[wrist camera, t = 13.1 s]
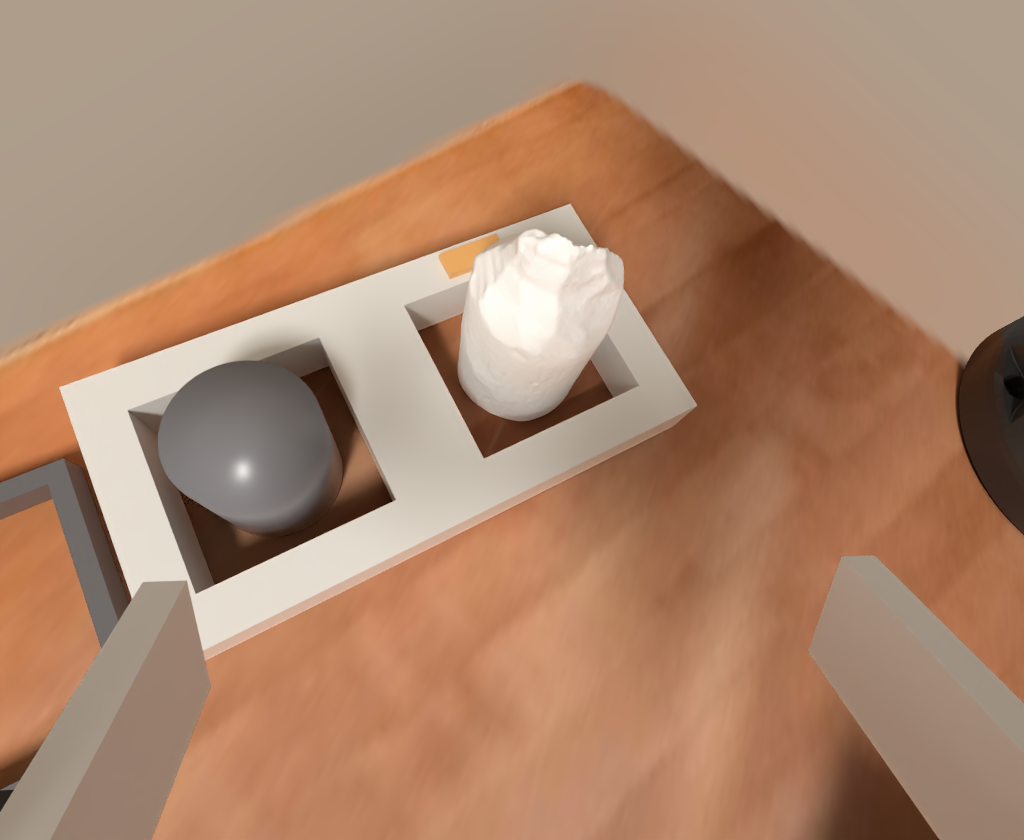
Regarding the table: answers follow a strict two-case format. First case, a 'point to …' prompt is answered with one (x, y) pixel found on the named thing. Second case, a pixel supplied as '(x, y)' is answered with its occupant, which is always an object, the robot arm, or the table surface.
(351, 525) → the block
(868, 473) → the table surface
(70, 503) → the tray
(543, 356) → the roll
